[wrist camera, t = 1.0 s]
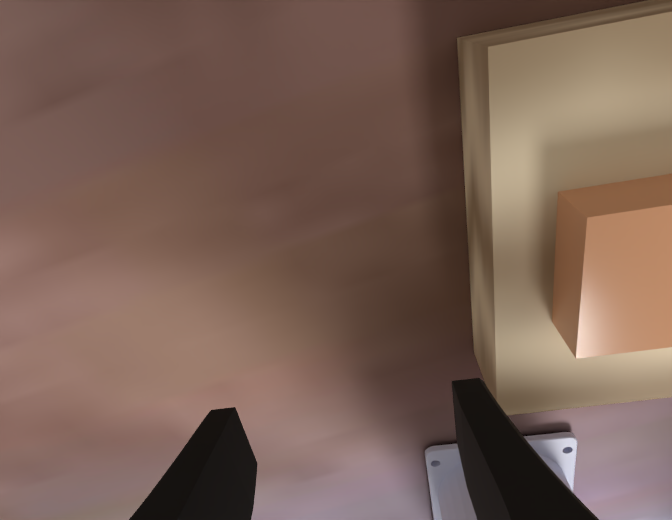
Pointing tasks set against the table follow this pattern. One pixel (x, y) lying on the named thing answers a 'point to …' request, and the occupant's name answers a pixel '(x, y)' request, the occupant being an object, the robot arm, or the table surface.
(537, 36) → the beige square tray
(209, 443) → the robot arm
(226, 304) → the table surface
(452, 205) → the table surface
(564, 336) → the tile
